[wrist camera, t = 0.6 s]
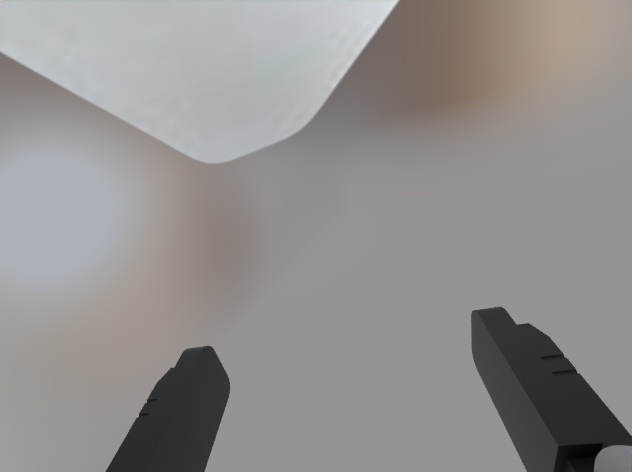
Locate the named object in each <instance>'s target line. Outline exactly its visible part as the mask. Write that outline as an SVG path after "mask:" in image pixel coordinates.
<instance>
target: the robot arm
mask: <svg viewBox="0 0 632 472" xmlns="http://www.w3.org/2000/svg"><path fill="white" fill-rule="evenodd" d="M471 317H472V318H471V323H472V354H473V358H474V362H475V365H476V368H477V370H478V372H479V374H480V376H481V378H482V380H483V382H484V385H485V386H486V388H487V391H488V393H489V395H490V397H491V399H492V401H493V403H494V405H495V407H496V409H497V411H498V413H499V415H500V417H501V419H502V421H503V423H504V425H505V427H506V429H507V431H508V433H509V436H510V437H511V439H512V442H513V444H514V446H515V448H516V450H517V452H518V454H519V456H520V458H521V460H522V462H523V464H524V466H525V468H526V470H527V472H632V436H631V435H630V434H629V433H628V431H627V430H626V429H625V428H624V426H623V425H622V424H621V423H620V422H619V421H618V419H617V418H616V417H615V416H614V414H613V413H612V412H611V411H610V410H609V409H608V407H607V406H606V405H605V404H604V402H603V401H602V400H601V399H600V398H599V396H598V395H597V394H596V393H595V392H594V390H593V389H592V388H591V387H590V385H589V384H588V383H587V382H586V381H585V379H584V378H583V377H582V376H581V375H580V374H578V373H577V371H576V369H575V367H574V366H573V365H572V364H571V363H570V361H569V360H568V359H567V358H565V357H564V354H563V353H562V352H561V351H560V349H559V348H558V347H557V346H556V344H555V343H554V342H553V341H552V340H551V338H550V337H549V336H547V335H546V334H544V333H543V332H541V331H540V330H538V329H536V328H535V327H533V326H532V325H530V324H529V323H527V324H519V325H516V324H515V322H514V321H513V319H512V318H511V317H510V315H509V314H508V313H507V311H506V310H505V309H504V308H502V307H495V308H488V309H481V310H474V311H472V316H471ZM229 391H230V382H229V378H228V375H227V374H226V372H225V370H224V368H223V366H222V364H221V362H220V360H219V358H218V357H217V354H216V352H215V351H214V349H213V348H212V347H211V346H204V347H197V348H190V349H186V350H185V351H184V352H183V353H182V355H181V357H180V359H179V360H178V362H177V364H176V366H175V367H174V368H171V369H170V370H169V371H168V372H167V373H166V374H165V375H164V376H163V377H162V378H161V379H160V380H159V381H158V382H157V384H156V385H155V387H154V389H153V391H152V392H151V394H150V396H149V398H148V399H147V403H145V404H144V406H143V408H142V410H141V411H140V413H139V417H138V418H137V419H136V420H135V422H134V424H133V425H132V427H131V429H130V430H129V432H128V434H127V436H126V438H125V439H124V441H123V443H122V444H121V446H120V448H119V450H118V451H117V453H116V455H115V456H114V458H113V460H112V462H111V464H110V465H109V467H108V469H107V470H106V472H204V471H205V468H206V465H207V462H208V459H209V456H210V453H211V450H212V447H213V444H214V441H215V438H216V434H217V431H218V428H219V425H220V422H221V419H222V416H223V413H224V410H225V407H226V404H227V401H228V398H229V393H230V392H229Z"/></svg>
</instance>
